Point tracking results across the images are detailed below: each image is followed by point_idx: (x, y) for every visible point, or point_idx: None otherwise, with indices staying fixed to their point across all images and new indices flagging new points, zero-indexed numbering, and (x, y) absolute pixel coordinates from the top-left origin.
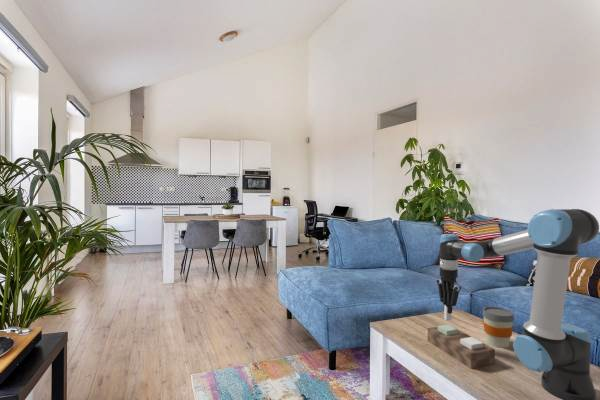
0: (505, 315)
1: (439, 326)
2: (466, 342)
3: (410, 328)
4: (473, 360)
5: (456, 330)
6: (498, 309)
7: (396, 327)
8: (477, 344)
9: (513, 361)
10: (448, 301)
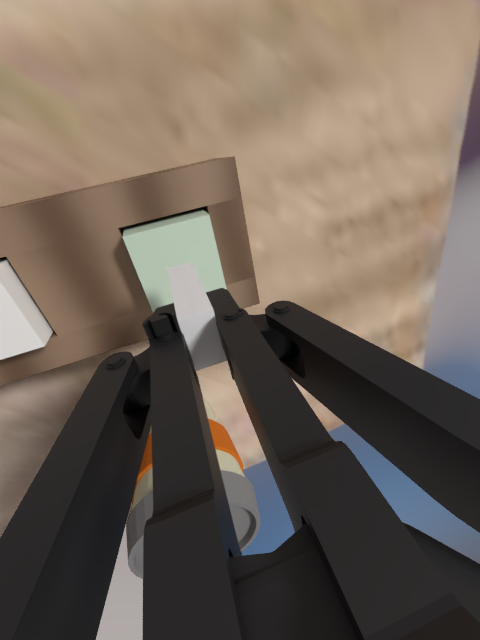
0: None
1: (200, 224)
2: None
3: (359, 138)
4: None
5: (150, 304)
6: (237, 538)
7: (393, 51)
8: None
9: (33, 421)
10: (158, 368)
